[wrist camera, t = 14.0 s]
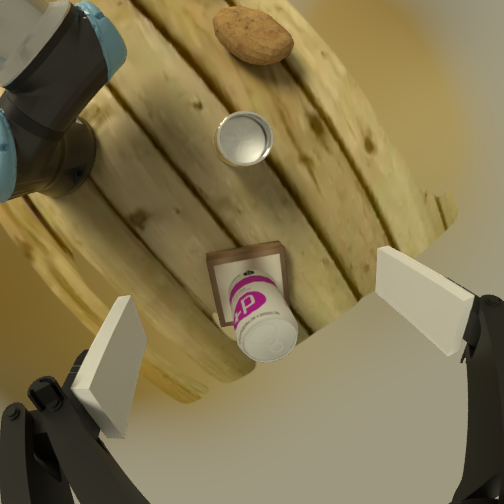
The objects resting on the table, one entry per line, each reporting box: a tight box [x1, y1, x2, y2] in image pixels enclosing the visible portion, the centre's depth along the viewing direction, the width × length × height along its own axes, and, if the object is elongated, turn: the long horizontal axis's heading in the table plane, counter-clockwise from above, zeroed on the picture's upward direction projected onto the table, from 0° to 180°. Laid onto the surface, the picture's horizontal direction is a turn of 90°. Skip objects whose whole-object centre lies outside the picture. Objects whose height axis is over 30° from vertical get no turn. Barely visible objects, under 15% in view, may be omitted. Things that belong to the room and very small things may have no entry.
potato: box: [213, 6, 294, 66], centre depth 34 cm, size 10×14×8 cm
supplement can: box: [228, 270, 298, 363], centre depth 40 cm, size 8×8×15 cm
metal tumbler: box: [214, 111, 274, 167], centre depth 37 cm, size 7×7×15 cm
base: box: [206, 241, 290, 327], centre depth 49 cm, size 13×13×4 cm
